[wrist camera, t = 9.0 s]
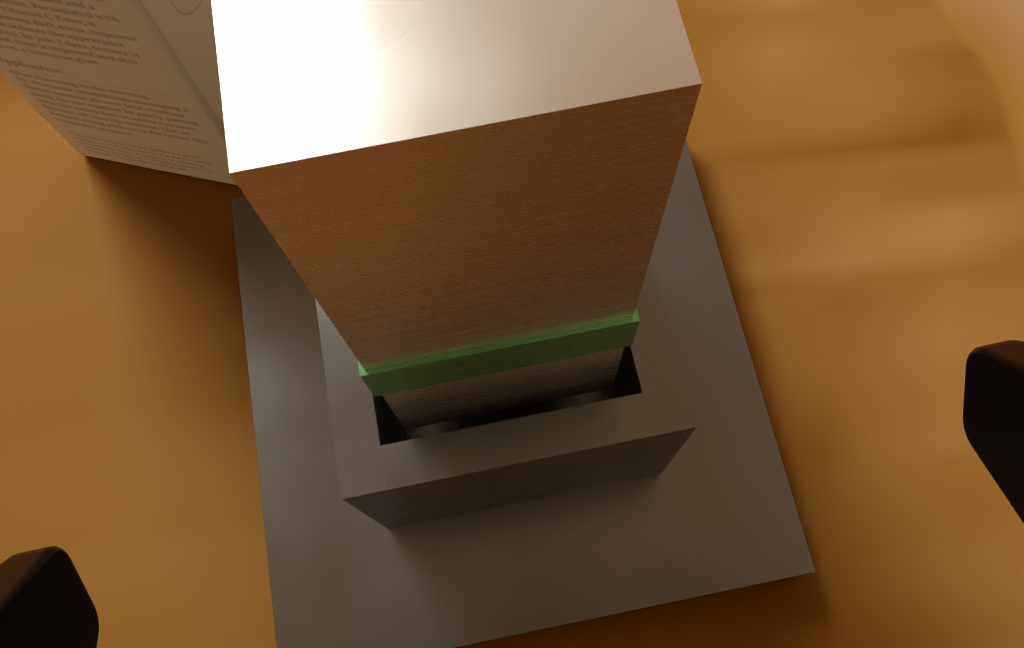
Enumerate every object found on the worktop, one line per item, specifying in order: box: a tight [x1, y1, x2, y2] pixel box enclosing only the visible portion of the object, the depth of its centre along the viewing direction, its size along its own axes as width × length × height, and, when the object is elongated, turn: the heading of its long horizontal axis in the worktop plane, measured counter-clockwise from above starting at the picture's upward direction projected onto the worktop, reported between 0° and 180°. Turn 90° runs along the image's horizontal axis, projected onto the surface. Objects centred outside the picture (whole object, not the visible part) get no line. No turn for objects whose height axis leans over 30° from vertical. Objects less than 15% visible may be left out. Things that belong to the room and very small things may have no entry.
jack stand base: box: [230, 140, 816, 648], centre depth 20 cm, size 12×12×6 cm
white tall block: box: [211, 0, 702, 430], centre depth 13 cm, size 4×4×10 cm
